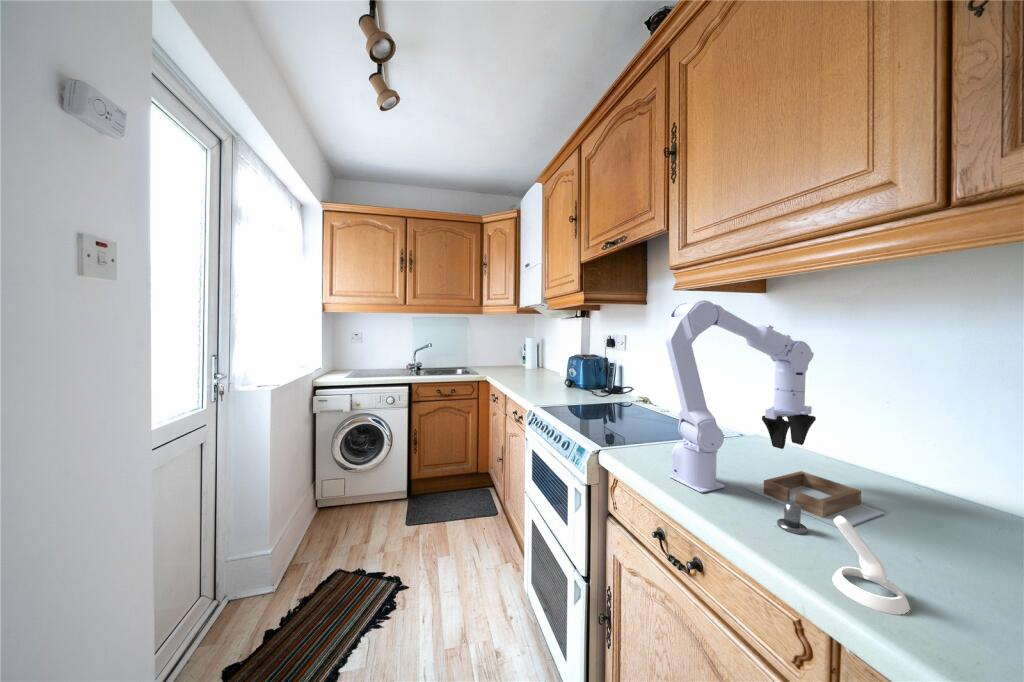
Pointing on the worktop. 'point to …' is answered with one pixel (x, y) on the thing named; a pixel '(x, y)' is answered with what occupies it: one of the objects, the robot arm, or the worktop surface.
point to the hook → (867, 576)
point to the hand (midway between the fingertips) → (787, 445)
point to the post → (792, 519)
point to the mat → (851, 515)
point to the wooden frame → (838, 500)
